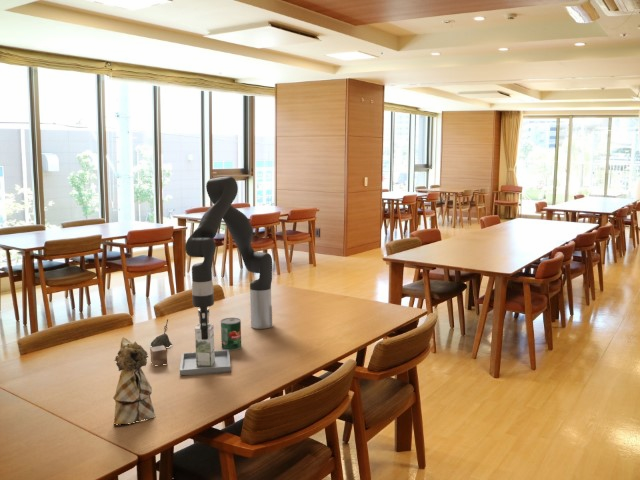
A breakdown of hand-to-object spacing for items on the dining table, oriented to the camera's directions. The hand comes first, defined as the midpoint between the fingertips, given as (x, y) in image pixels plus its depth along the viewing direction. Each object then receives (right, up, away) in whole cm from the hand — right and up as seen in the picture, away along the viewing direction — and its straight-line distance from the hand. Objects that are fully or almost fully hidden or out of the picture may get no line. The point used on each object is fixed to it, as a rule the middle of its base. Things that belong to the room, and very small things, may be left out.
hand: (204, 335), depth 217 cm
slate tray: (0, -11, +2) cm, 11 cm away
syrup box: (0, -11, +2) cm, 11 cm away
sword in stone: (-22, -8, +23) cm, 33 cm away
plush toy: (-13, -18, -39) cm, 45 cm away
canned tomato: (+7, -8, +21) cm, 24 cm away
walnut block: (-18, -11, +4) cm, 21 cm away
